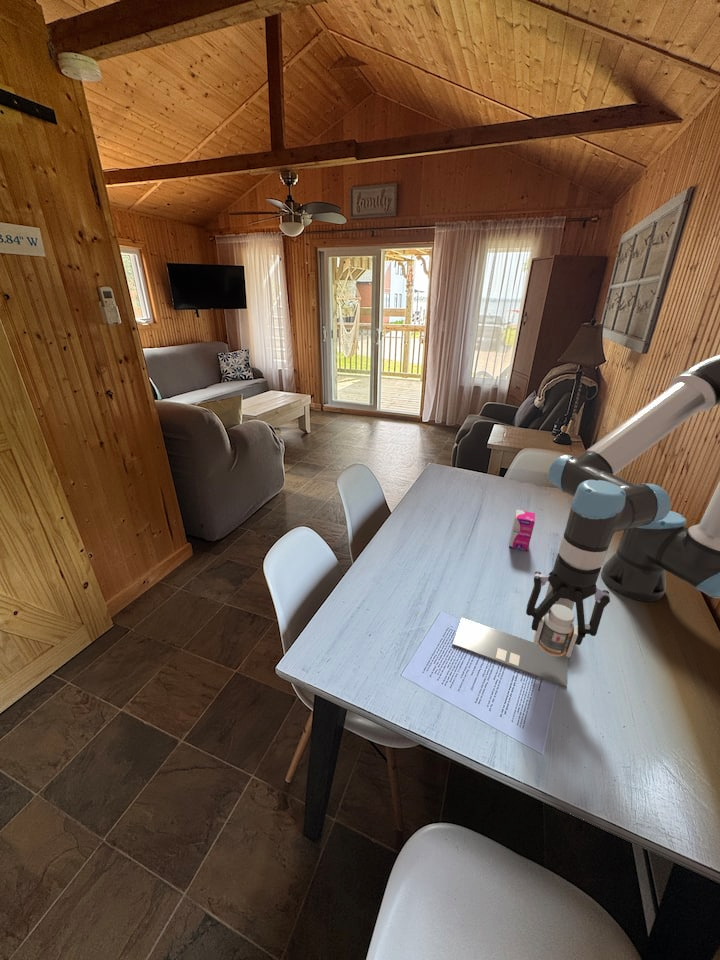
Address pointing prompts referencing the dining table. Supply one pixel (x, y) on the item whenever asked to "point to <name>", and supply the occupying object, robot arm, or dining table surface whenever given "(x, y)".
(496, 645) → the slate board
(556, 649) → the pill bottle
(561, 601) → the beverage can
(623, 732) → the dining table surface
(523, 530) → the supplement box
